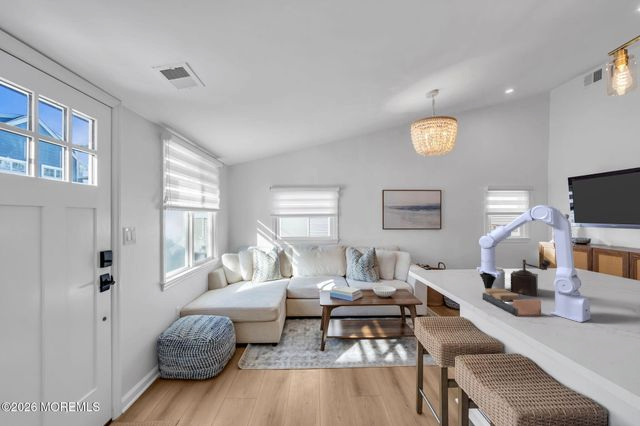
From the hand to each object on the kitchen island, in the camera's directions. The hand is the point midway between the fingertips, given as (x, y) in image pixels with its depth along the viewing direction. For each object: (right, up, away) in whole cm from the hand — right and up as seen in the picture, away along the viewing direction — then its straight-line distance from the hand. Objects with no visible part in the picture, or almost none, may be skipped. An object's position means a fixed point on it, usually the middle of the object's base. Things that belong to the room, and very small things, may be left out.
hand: (488, 289), depth 126 cm
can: (+10, -4, +9) cm, 14 cm away
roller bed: (0, -4, -13) cm, 14 cm away
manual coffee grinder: (+24, -4, +5) cm, 25 cm away
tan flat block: (0, 0, -9) cm, 9 cm away
